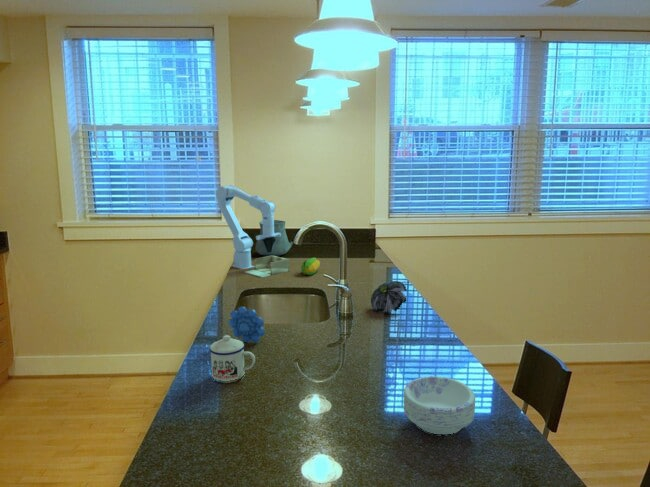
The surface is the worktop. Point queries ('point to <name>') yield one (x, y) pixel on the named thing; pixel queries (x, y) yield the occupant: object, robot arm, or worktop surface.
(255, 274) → the tailgate
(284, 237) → the vessel
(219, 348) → the teacup with lid
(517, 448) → the worktop surface
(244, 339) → the blue flower ornament
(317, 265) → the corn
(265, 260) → the crate
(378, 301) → the decorative flower
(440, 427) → the paper bowls
